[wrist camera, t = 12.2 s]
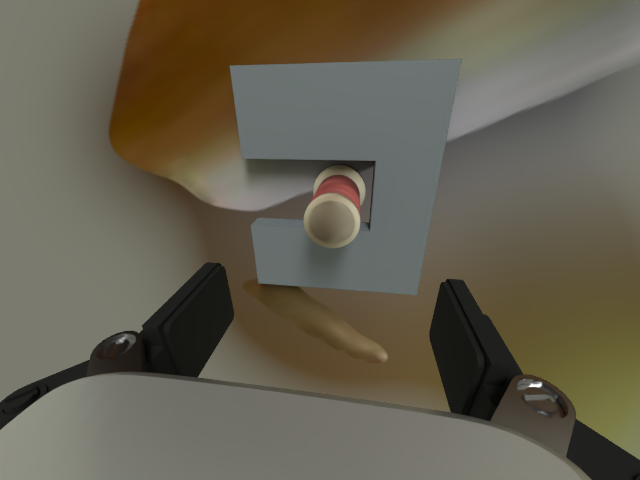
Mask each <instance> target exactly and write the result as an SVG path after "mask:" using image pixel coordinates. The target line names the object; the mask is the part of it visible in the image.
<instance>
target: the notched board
mask: <svg viewBox="0 0 640 480" xmlns="http://www.w3.org/2000/svg"><path fill="white" fill-rule="evenodd" d="M460 64H461V59H439V60H406V61H372V62H339V63H305V64H272V65H238V66H230V71H231V79H232V86H233V94H234V102H235V109H236V117H237V124H238V132H239V139H240V147H241V155H242V159H295V160H360V161H374V171H373V185H372V196H371V208H370V221H369V223H364V222H360V228H359V232H358V234H357V235H356V237H355V238H354V240H353V241H351V242H350V243H349V244H347V245H345V246H343V247H339V248H326V247H323V246H320V245H318V244H317V243H315V242H314V241H313V240H312V239H311V238H310V237H309V236H308V234H307V233H306V230H305V228H304V220H295V219H272V218H271V219H270V218H258V219H257V220H256V221H255V222H254V223H253V224H252V225H251V229H252V238H253V245H254V253H255V261H256V268H257V276H258V283H262V284H275V285H288V286H302V287H315V288H329V289H342V290H355V291H369V292H381V293H395V294H409V295H417V290H418V284H419V280H420V274H421V269H422V264H423V259H424V253H425V248H426V243H427V237H428V232H429V227H430V222H431V217H432V211H433V206H434V201H435V196H436V190H437V185H438V180H439V175H440V169H441V164H442V159H443V154H444V148H445V143H446V138H447V133H448V127H449V122H450V117H451V112H452V106H453V101H454V96H455V91H456V85H457V80H458V75H459V70H460Z"/></svg>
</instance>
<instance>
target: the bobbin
mask: <svg viewBox="0 0 640 480" xmlns="http://www.w3.org/2000/svg"><path fill="white" fill-rule="evenodd" d="M313 194H314V196H313V198H312V200H311V202H310V204H309V206H308V208H307V210H306V212H305V215H304V228H305V230H306V233H307V234H308V236H309V237H310V238H311V239H312V240H313V241H314V242H315V243H317V244H318V245H320V246H323V247H326V248H339V247H343V246H345V245H347V244H349V243H350V242H351V241H353V240H354V238H355V237H356V235H357V234H358V232H359V228H360V206H361V205H362V203H363V201H364V198H365V184H364V180H363V178H362V176H361V175H360V174H359V172H358V171H357V170H355V169H354V168H352V167H350V166H347V165H342V164H337V165H332V166H330V167H328V168H326V169H324V170H323V171H322V172H321V173H320V175H319V176H318V178H317V179H316V181H315V184H314V188H313Z"/></svg>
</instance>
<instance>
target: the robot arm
mask: <svg viewBox="0 0 640 480" xmlns="http://www.w3.org/2000/svg"><path fill="white" fill-rule="evenodd" d="M233 318H234V310H233V305H232V300H231V295H230V290H229V285H228V280H227V276H226V270H225V268H224V267H222V265H221V264H220V263H210V262H208V263H205V264H204V265H203V266H202V267H201V269H199V270H198V271H197V272H196V273H195V274H194V275H193V276H192V277H191V278H190V279H189V280H188V281H187V282H186V283H185V284H184V285H183V286H182V287H181V288H180V289H179V290H178V291H177V292H176V293H175V294H174V295H173V296H172V297H171V298H170V299H169V300H168V301H167V302H166V303H165V304H164V305H163V306H162V307H161V308H159V309H158V311H157V312H155V313H154V314H153V315H152V316H151V317H150V319H148V320H147V321H146V322H145V323H144V324H143V325H142V327H143V330H142V331H141V332H140V333H138V332H136V331H123V332H120V333H116V334H114V335H112V336H110V337H108V338H106V339H104V340H103V341H102V342H100V343H99V344H98V345H97V346H96V347H95V348H94V349H93V351H92V353H91V355H90V360H88V361H85V362H83V363H81V364H78V365H75V366H73V367H71V368H68V369H66V370H63V371H61V372H58V373H56V374H53V375H51V376H48V377H46V378H44V379H41V380H39V381H36V382H34V383H31V384H29V385H27V386H25V387H22V388H21V389H18V390H17V391H15V392H13V393H12V394H10V395H9V396H8V397H6V398H5V399H4V400H3V401H1V402H0V480H640V460H639V459H637V458H635V457H634V456H632V455H631V454H629V453H628V452H626V451H625V450H623V449H621V448H620V447H619V446H617V445H615V444H614V443H612V442H611V441H609V440H608V439H606V438H605V437H603V436H602V435H600V434H598V433H597V432H595V431H594V430H592V429H591V428H589V427H587V426H586V425H585V424H583V423H581V422H580V421H578V420H577V419H576V411H575V408H574V406H573V404H572V403H571V401H570V400H569V399H568V397H567V396H566V395H565V394H564V393H563V392H562V391H561V390H559V389H558V388H557V387H556V386H554V385H553V384H551V383H550V382H548V381H546V380H544V379H541V378H539V377H536V376H532V375H524V374H523V373H522V371H521V369H520V368H519V366H518V364H517V363H516V361H515V359H514V358H513V356H512V354H511V353H510V351H509V349H508V348H507V346H506V345H505V343H504V341H503V340H502V338H501V336H500V335H499V333H498V331H497V330H496V328H495V326H494V325H493V323H492V321H491V320H490V318H489V317H488V316H487V315H483V313H482V311H481V310H480V308H479V306H478V305H477V303H476V301H475V299H474V298H473V296H472V294H471V293H470V291H469V289H468V288H467V286H466V284H465V282H464V281H463V280H457V279H447V280H446V282H442V283H441V285H440V289H439V293H438V297H437V302H436V306H435V310H434V315H433V319H432V323H431V328H430V342H431V345H432V349H433V352H434V356H435V359H436V362H437V366H438V369H439V373H440V376H441V380H442V383H443V387H444V390H445V394H446V397H447V400H448V404H449V407H450V411H451V412H445V411H439V410H432V409H426V408H419V407H412V406H406V405H400V404H393V403H386V402H378V401H371V400H364V399H357V398H349V397H342V396H335V395H328V394H320V393H313V392H305V391H297V390H290V389H283V388H275V387H267V386H260V385H252V384H244V383H236V382H228V381H220V380H212V379H204V378H197V377H198V376H199V374H200V372H201V371H202V369H203V368H204V366H205V364H206V363H207V361H208V359H209V358H210V356H211V355H212V353H213V351H214V350H215V348H216V346H217V345H218V343H219V342H220V340H221V338H222V337H223V335H224V333H225V332H226V330H227V329H228V327H229V325H230V324H231V322H232V320H233Z"/></svg>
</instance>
